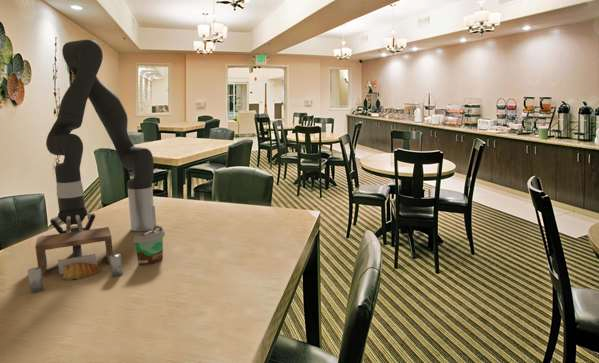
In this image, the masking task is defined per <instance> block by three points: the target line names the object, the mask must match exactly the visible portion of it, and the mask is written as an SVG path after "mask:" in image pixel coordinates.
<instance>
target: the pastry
mask: <svg viewBox="0 0 599 363" xmlns="http://www.w3.org/2000/svg"><path fill="white" fill-rule="evenodd" d="M96 264H97V263H96ZM96 264H90V263H76V264H73V263H72V264H70V265H64V274H63V277H62V278H63V279H64V280H66V281H73V280H74V279H77V280H79V279H83V278H87V277H90V276H94V275H95V274H98V273H99V272H100V268H99V265H98V264H97V265H96Z"/></svg>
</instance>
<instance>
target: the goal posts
mask: <svg viewBox="0 0 599 363" xmlns="http://www.w3.org/2000/svg"><path fill="white" fill-rule="evenodd" d="M122 265H123V264H122V255H121V254H120V253H113V255H110V275H111V277H114V278H116V277H120V276H123V267H122ZM27 276H28V283H29V289H30V293H40V292H42V291H44V289H45V288H44V280H43V277H42V272H41V268H40V267H38V266H37V267H31V268H29V269H27Z"/></svg>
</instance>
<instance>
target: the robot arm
mask: <svg viewBox="0 0 599 363" xmlns="http://www.w3.org/2000/svg"><path fill="white" fill-rule="evenodd" d="M61 52H62V56H63V60H64V62H65V63H66V65H67V67H68V69H69V70H70V72H71V73H72V74H73V76H74V79H73V81H72V82H71V83H70V86H68V88H67V89H66V91H65V93H64V95H63V96H62V98H61V102H60V105H59V109H58V114H57V119H56V120H55V122H54V123H53V125H52V127H51V128H50V130H49V132H48V134H47V137H46V141H45V146H46V149H47V151H48V152H49V153H50V154H51V155H54V156H64V157H63V162H60V163H58V164H56V165H55V166H54V167H55V168H54V172H55V181H56V187H55V188H56V196H57V205H58V214H57V216H55V217H52V218H50V222H49V223H51V225H52V226H53V228H54V229H55V230H56V231H57V232H58V234H62V233H69V232H71V226H74V225H76V226H78V228H79V231H83V230H91V227H92V225H93V223H94V221H95V218H96V214H95V213H94V212H92V213H91V212H88V210H87V209H86V203H85V196H84V188H83V183H82V177H81V164H82V158H83V152H84V144H83V141H82V139H81V137H80V136H79V135H77V134H75V133H71V132H72V131H74V130H77V129H79V128H81V127H82V124H83V120H84V115H85V110H86V106H87V102H88V99H89V101H90V103H91V106H92V107H93V108H94V111H95V113H96V114H97V117H98V118H99V120H100V122H101V123H102V125H103V127H104V129H105V131H106V133H107V134H108V136H109V138H110V140H111V142H112V145H113V146H114V149H115V151H116V153H117V156H118V159H119V161H120V163H121V165H122V166H123V167H124V168H125V169H127V170H130V171H134V172H133V173H134V174H133V178H131V179H129V180H128V181H127V184H126V185H127V197H128V208H129V219H130V229H131V231H132V232H146V231H150V230H152V229H153V228H154V225H156V226H157V218H156V206H155V204H154V195H153V194H154V193H153V192H154V191H153V181H154V174H155V173H154V172H155V171H154V156H153V153H152V151H151V150H150V148H146V147H141V146H140V147H138V146H135V145H134V144H133V142H132V140H131V139H130V136H129V133H128V119H129V118H128V114H127V112H126V109H125V107H124V106H123V103H122V101H121V100H120V98H119V97H118V96H117V95H116V94H115V92H114V91H112V90H111V89H110V88H109V87H107V85H105V84H104V83H103V82H102V81H101V79H99V77H98V72H99V70H100V68H101V65H102V62H103V59H104V57H103V56H104V54H103V50H102V48H101V46H100V45H99V43H97V42H96V41H95V40H93V39H79V40H72V41H69V42H66V43H64V45H63V46H62V51H61ZM86 218H87V223H86V224H85V226H84V227H83V221H84V220H85V219H86ZM60 220H61V222H63V223H64V224H65V225H66V226H65V229H64V228H62V226H61V225H60Z"/></svg>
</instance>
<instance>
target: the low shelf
mask: <svg viewBox="0 0 599 363" xmlns="http://www.w3.org/2000/svg"><path fill="white" fill-rule="evenodd" d="M110 230H111V229H110V228H109V226H108V227H100V228H98V227H97V228H92V229H91V228H90V230H83V231H76V232H71V231H70V232H69V233H62V234H59V233H57V234H56V233H53V234H48V235H41V236H37V238H36V243H35V246H34V248H35V254H36V261H37V267H40V268H41V272H42V278H43V277H46V274H47V269H48V261H47V260H48V259H47V253H46V251H47V250H55V249H60V248H61V249H62V248H68V247H73V246H75V245H81V246H83V245H87V244H93V243H102V242H104V245H105V254H106V259H107V263H108V265H110V255H113V254H114V250H113V241H112V239H113V238H112V234H111V231H110Z"/></svg>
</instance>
